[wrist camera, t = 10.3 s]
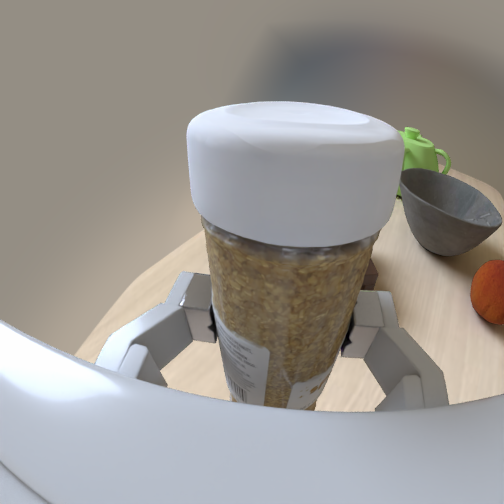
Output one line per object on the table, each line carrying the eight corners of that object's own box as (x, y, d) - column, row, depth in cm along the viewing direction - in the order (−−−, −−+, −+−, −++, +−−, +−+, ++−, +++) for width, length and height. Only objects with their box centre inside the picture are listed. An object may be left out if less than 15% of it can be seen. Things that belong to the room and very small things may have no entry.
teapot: (450, 207, 51) (466, 148, 42) (379, 205, 50) (392, 134, 41) (411, 173, 66) (420, 123, 57) (347, 168, 65) (353, 113, 56)
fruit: (459, 322, 27) (488, 274, 22) (464, 282, 33) (486, 238, 28) (506, 345, 23) (540, 302, 18) (506, 303, 28) (531, 262, 23)
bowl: (480, 300, 30) (511, 243, 23) (372, 252, 39) (387, 190, 33) (478, 239, 41) (495, 194, 35) (397, 205, 50) (407, 158, 44)
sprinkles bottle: (322, 431, 12) (456, 151, 4) (231, 442, 11) (160, 142, 3) (305, 359, 15) (352, 102, 7) (226, 367, 15) (195, 100, 7)
